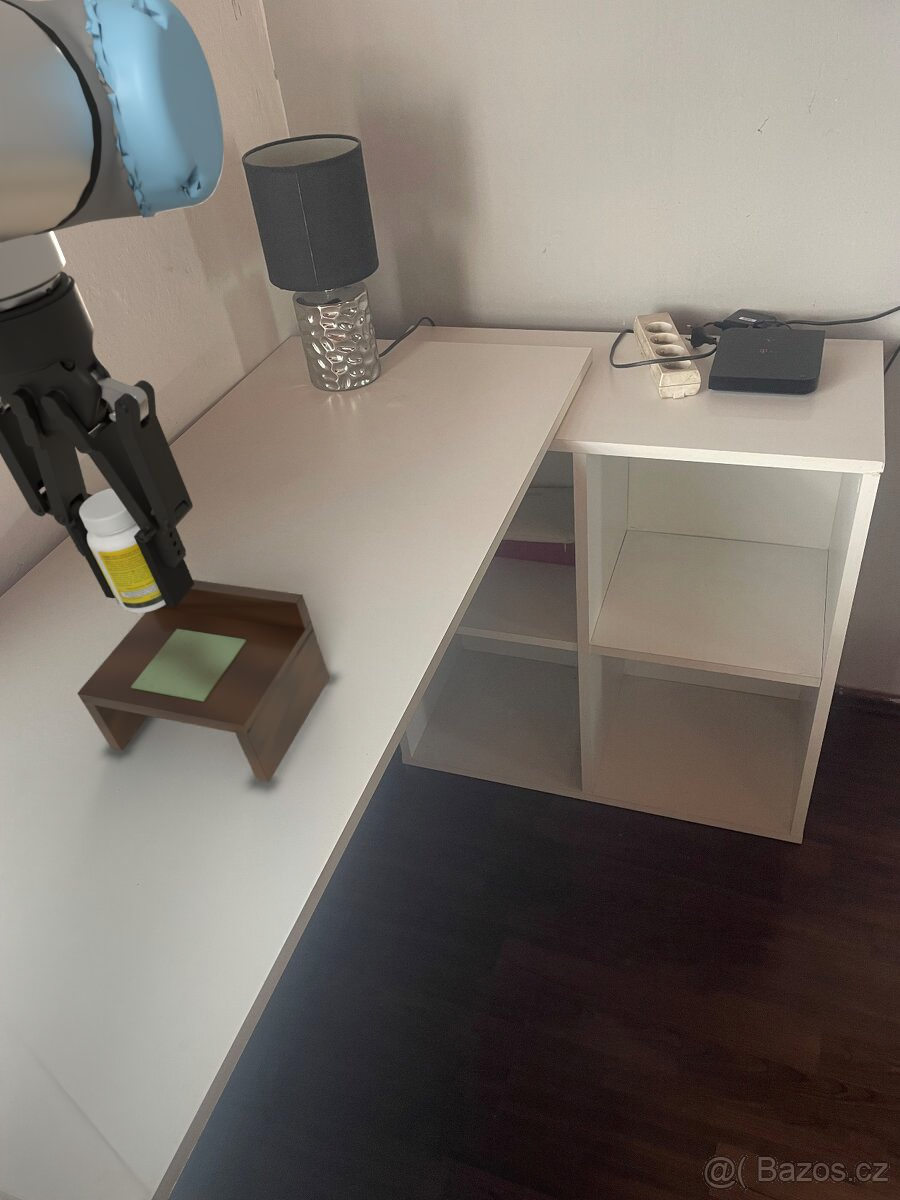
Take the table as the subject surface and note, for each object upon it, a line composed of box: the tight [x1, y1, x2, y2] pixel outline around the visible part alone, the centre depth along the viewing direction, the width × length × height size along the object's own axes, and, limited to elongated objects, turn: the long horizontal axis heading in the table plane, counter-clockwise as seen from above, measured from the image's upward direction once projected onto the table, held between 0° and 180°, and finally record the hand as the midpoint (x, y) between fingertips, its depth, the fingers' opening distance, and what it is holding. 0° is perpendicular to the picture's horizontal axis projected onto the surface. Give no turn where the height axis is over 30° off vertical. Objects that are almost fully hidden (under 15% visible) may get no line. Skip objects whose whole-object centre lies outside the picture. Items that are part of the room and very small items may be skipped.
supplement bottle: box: [79, 487, 166, 614], centre depth 63 cm, size 5×5×8 cm
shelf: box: [76, 579, 330, 783], centre depth 74 cm, size 12×16×10 cm
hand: (150, 590), depth 65 cm, fingers closed on supplement bottle, 5 cm apart
